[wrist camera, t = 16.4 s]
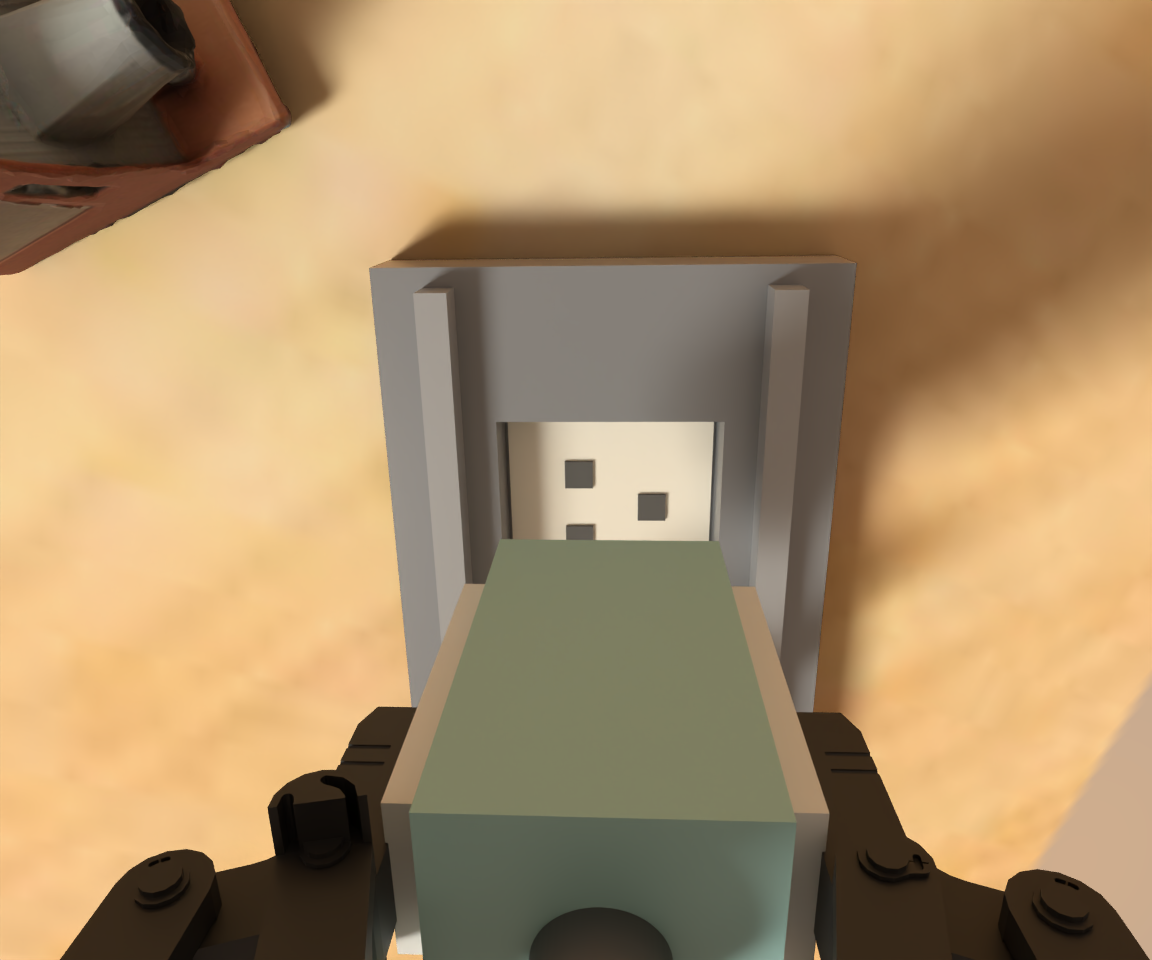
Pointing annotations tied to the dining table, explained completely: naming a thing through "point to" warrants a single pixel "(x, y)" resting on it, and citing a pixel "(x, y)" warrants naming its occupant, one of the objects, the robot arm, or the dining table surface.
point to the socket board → (615, 421)
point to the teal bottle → (604, 767)
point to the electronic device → (117, 111)
